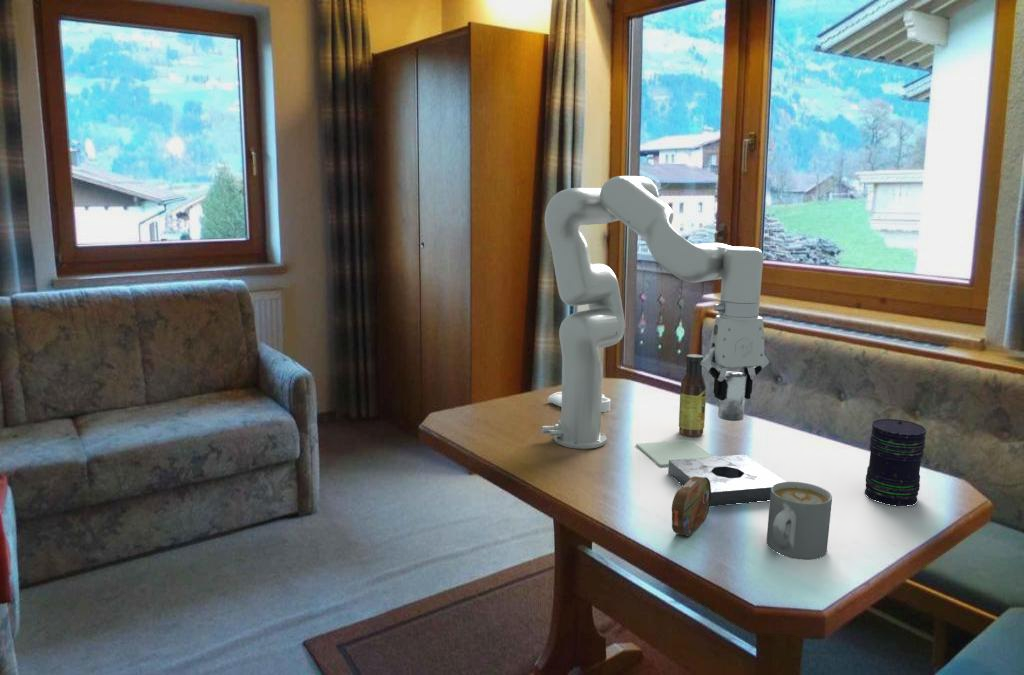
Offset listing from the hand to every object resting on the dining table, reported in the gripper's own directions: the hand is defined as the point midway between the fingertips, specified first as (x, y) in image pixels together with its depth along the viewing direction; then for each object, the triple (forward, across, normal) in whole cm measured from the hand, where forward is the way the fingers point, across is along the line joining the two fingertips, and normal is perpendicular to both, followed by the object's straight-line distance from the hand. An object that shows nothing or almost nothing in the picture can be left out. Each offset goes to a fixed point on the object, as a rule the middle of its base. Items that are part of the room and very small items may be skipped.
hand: (732, 397), depth 161 cm
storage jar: (+19, +30, -12) cm, 38 cm away
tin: (+19, -16, -16) cm, 30 cm away
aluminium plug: (+4, 0, 0) cm, 4 cm away
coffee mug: (+19, -3, -28) cm, 34 cm away
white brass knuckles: (+20, -11, +62) cm, 66 cm away
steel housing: (+19, 0, 0) cm, 19 cm away
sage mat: (+19, -2, +20) cm, 28 cm away
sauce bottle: (+20, +8, +33) cm, 39 cm away
